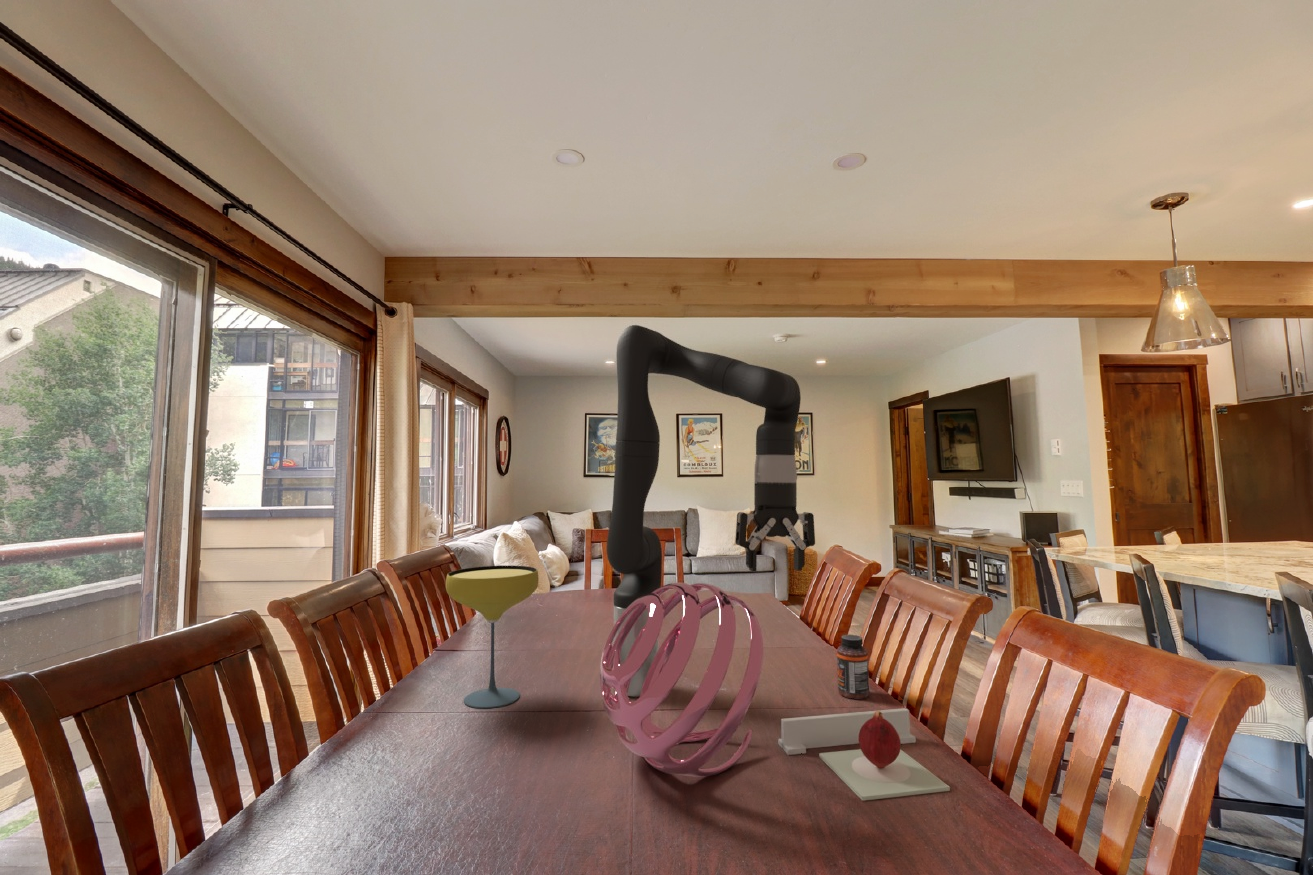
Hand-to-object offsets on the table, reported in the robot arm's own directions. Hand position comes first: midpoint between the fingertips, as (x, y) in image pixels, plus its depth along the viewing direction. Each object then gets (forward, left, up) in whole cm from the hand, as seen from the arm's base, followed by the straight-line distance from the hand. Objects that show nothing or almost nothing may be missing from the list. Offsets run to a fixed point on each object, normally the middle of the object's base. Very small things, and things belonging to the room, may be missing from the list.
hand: (775, 570), depth 107 cm
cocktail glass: (-51, +23, -27) cm, 62 cm away
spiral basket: (-20, -10, -27) cm, 35 cm away
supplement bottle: (+20, +10, -27) cm, 35 cm away
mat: (+8, -20, -27) cm, 34 cm away
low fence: (+8, -10, -27) cm, 29 cm away
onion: (+8, -20, -26) cm, 34 cm away
